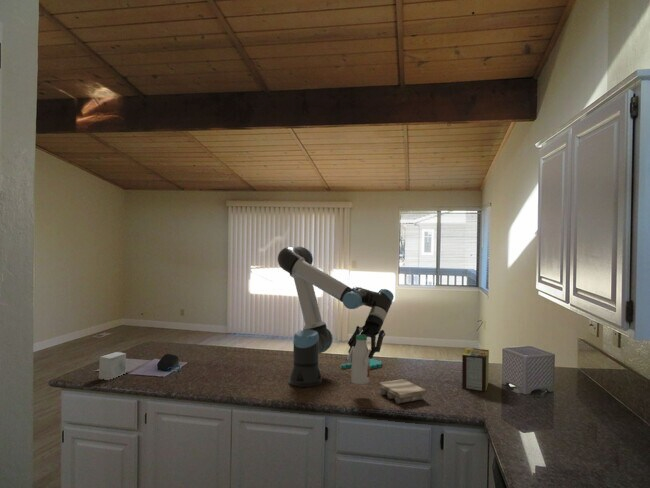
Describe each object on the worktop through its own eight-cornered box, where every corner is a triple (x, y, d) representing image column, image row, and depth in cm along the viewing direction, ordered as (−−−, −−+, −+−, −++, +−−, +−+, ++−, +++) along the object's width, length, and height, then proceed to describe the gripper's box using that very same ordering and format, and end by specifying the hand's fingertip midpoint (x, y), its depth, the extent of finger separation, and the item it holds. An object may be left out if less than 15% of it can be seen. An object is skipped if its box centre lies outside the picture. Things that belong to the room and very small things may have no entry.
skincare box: (109, 380, 198) (109, 358, 198) (98, 379, 200) (98, 356, 200) (126, 374, 208) (126, 352, 208) (115, 372, 210) (116, 351, 210)
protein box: (488, 382, 204) (489, 349, 204) (486, 392, 190) (486, 357, 190) (465, 379, 208) (466, 347, 208) (461, 388, 194) (461, 354, 194)
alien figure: (341, 369, 223) (379, 372, 219) (341, 365, 223) (379, 368, 219) (346, 359, 242) (382, 361, 238) (347, 355, 242) (382, 358, 238)
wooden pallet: (378, 393, 186) (378, 382, 187) (403, 389, 192) (403, 379, 192) (400, 405, 172) (400, 394, 172) (426, 400, 178) (426, 390, 178)
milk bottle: (364, 386, 178) (365, 338, 178) (347, 382, 182) (349, 335, 182) (372, 381, 184) (373, 335, 184) (356, 377, 188) (357, 332, 188)
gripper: (398, 327, 190) (381, 372, 177) (358, 321, 201) (339, 362, 188) (394, 316, 186) (375, 362, 172) (353, 311, 197) (333, 353, 184)
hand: (356, 362), depth 180 cm, fingers closed on milk bottle, 7 cm apart
